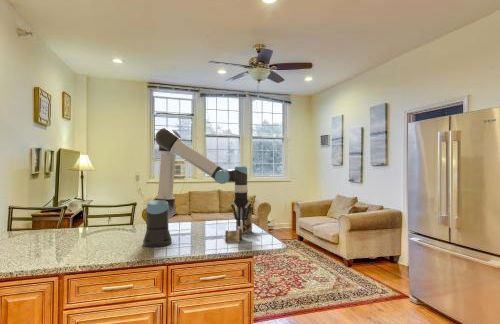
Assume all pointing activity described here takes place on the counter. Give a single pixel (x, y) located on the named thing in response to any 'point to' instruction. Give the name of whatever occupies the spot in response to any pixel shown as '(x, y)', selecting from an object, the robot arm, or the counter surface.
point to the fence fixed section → (233, 235)
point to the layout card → (244, 239)
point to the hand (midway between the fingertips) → (241, 231)
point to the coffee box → (247, 222)
